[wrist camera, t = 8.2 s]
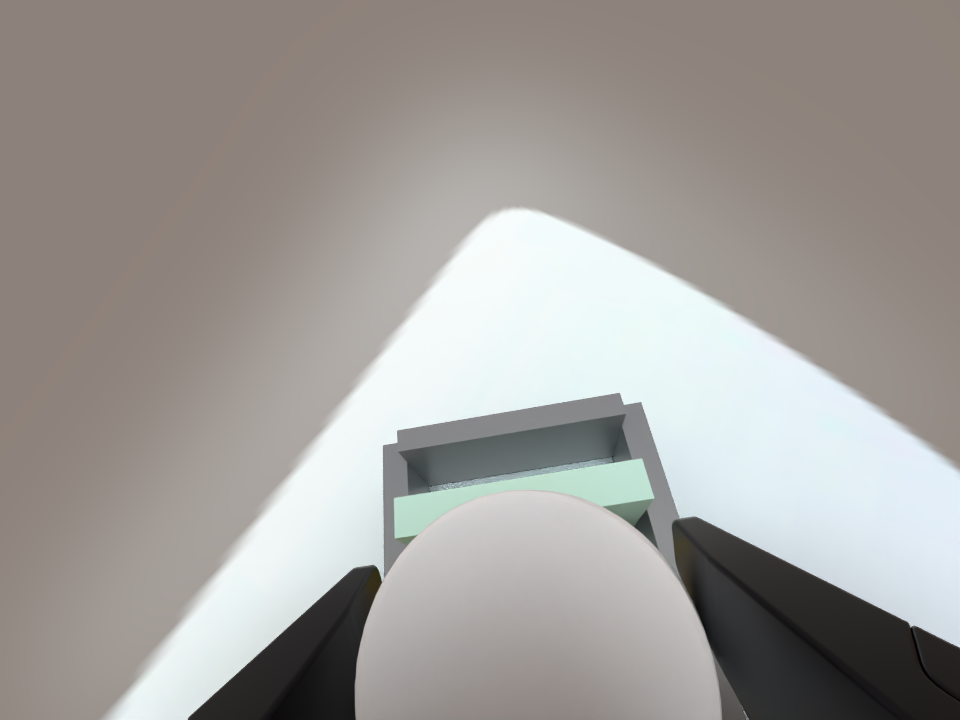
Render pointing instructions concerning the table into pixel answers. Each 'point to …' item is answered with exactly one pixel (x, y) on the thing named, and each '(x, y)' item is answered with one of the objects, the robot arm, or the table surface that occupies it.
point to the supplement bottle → (534, 621)
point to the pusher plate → (602, 484)
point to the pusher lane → (535, 466)
